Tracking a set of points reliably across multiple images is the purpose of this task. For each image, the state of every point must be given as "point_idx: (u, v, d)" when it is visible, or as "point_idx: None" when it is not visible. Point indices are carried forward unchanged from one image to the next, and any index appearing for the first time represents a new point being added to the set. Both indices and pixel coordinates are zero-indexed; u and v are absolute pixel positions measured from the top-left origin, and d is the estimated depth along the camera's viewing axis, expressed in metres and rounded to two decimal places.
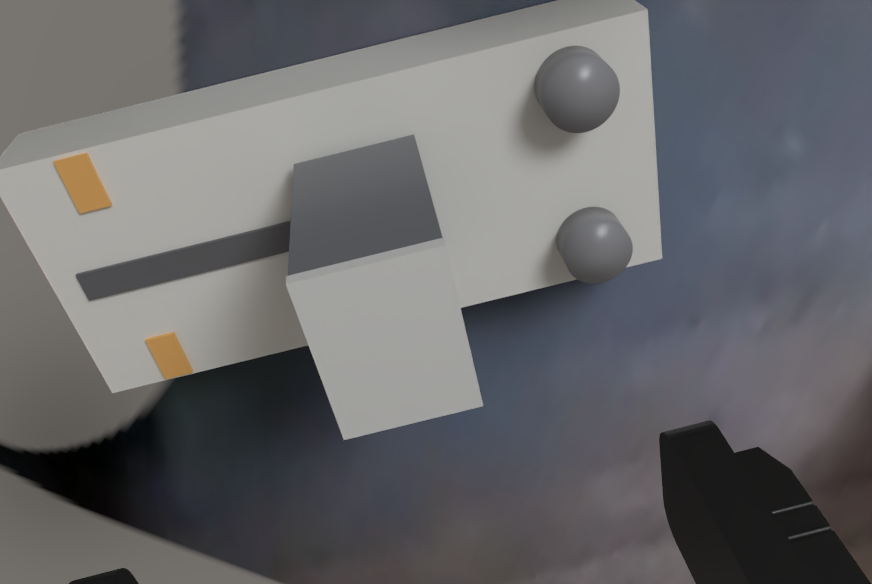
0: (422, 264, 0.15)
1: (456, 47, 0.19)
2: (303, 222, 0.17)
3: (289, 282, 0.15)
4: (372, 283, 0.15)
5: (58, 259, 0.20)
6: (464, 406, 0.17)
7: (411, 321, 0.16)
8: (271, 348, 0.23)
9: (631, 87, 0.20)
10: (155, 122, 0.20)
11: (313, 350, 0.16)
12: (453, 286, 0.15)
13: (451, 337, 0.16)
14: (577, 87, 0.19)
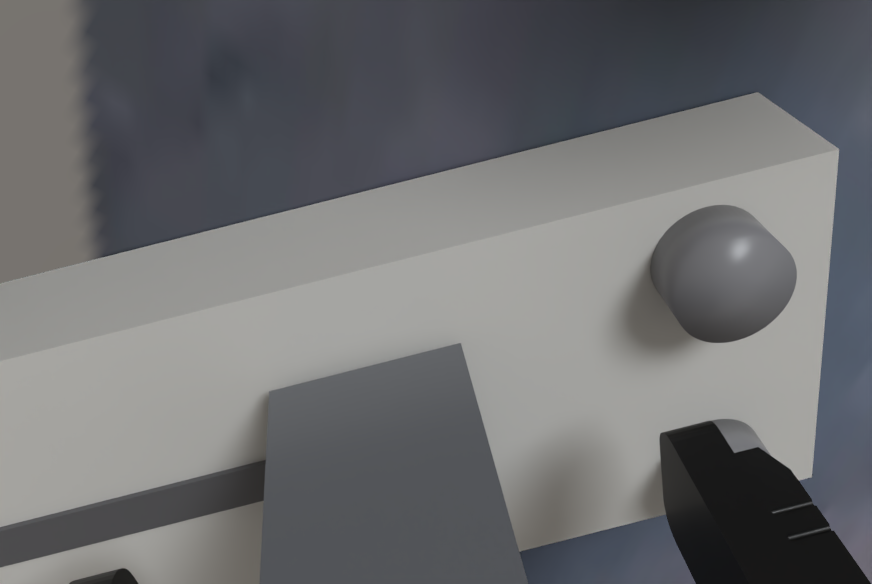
0: None
1: (527, 203, 0.12)
2: (282, 556, 0.10)
3: None
4: None
5: None
6: None
7: None
8: None
9: (798, 260, 0.13)
10: (47, 327, 0.12)
11: None
12: None
13: None
14: (731, 279, 0.11)
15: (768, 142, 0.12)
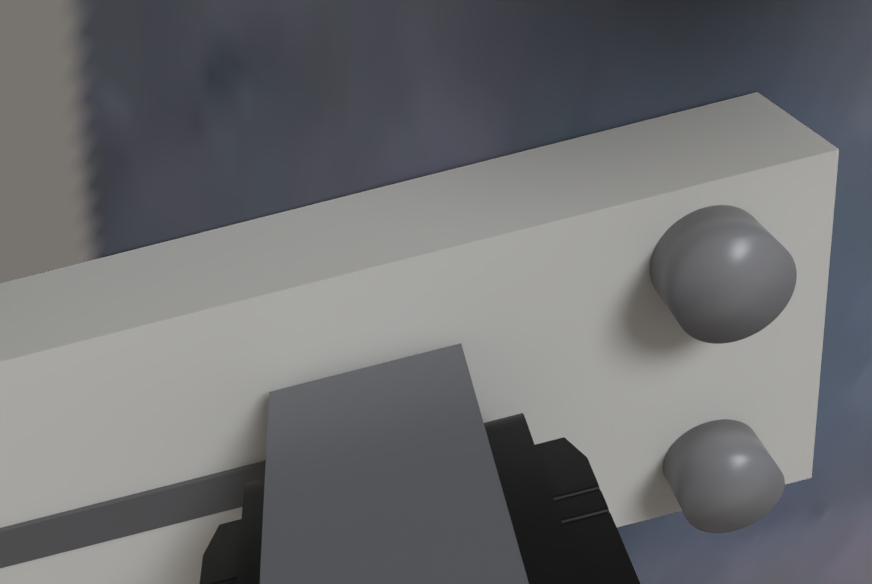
0: None
1: (526, 204, 0.12)
2: (282, 557, 0.10)
3: None
4: None
5: None
6: None
7: None
8: None
9: (798, 260, 0.13)
10: (45, 327, 0.12)
11: None
12: None
13: None
14: (730, 279, 0.11)
15: (768, 142, 0.12)
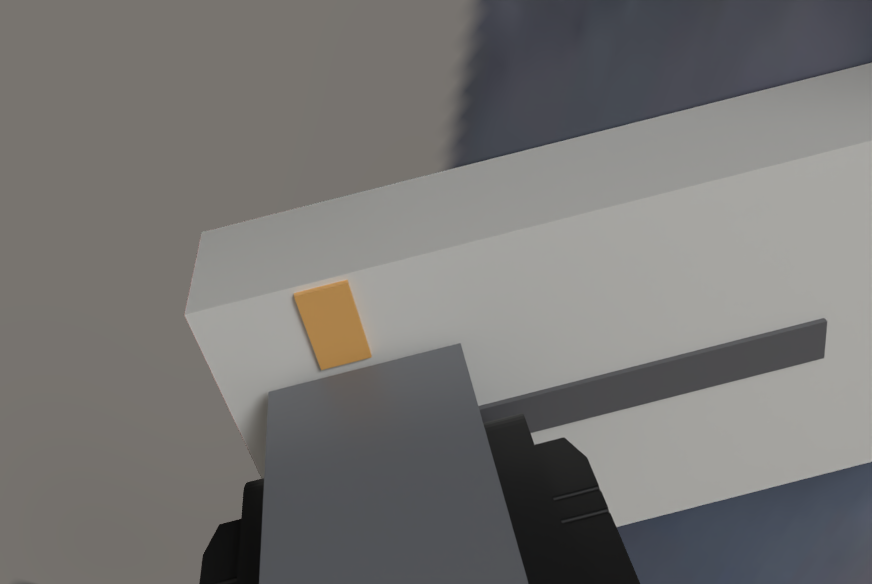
0: None
1: None
2: (281, 558, 0.10)
3: None
4: None
5: None
6: None
7: None
8: None
9: None
10: (446, 225, 0.12)
11: None
12: None
13: None
14: None
15: None
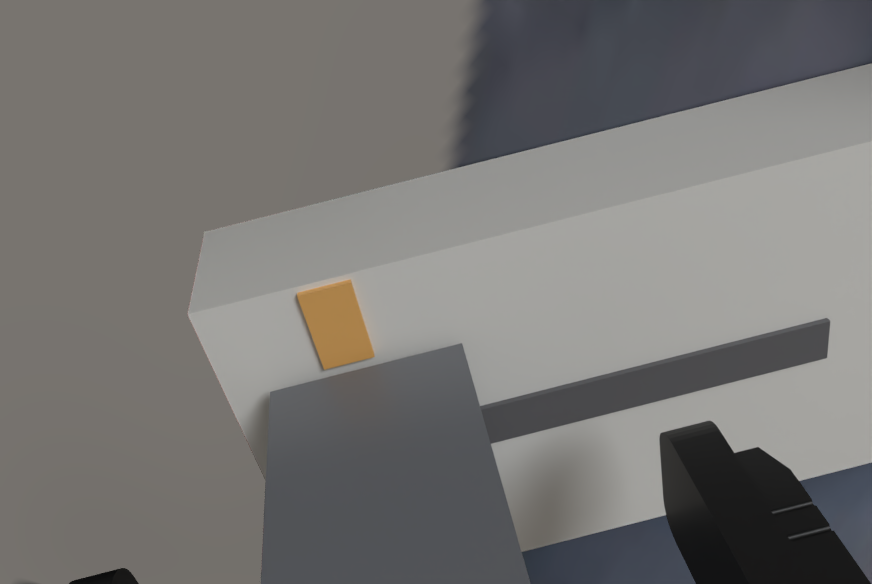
0: None
1: None
2: (283, 557, 0.10)
3: None
4: None
5: None
6: None
7: None
8: (559, 535, 0.15)
9: None
10: (449, 225, 0.12)
11: None
12: None
13: None
14: None
15: None
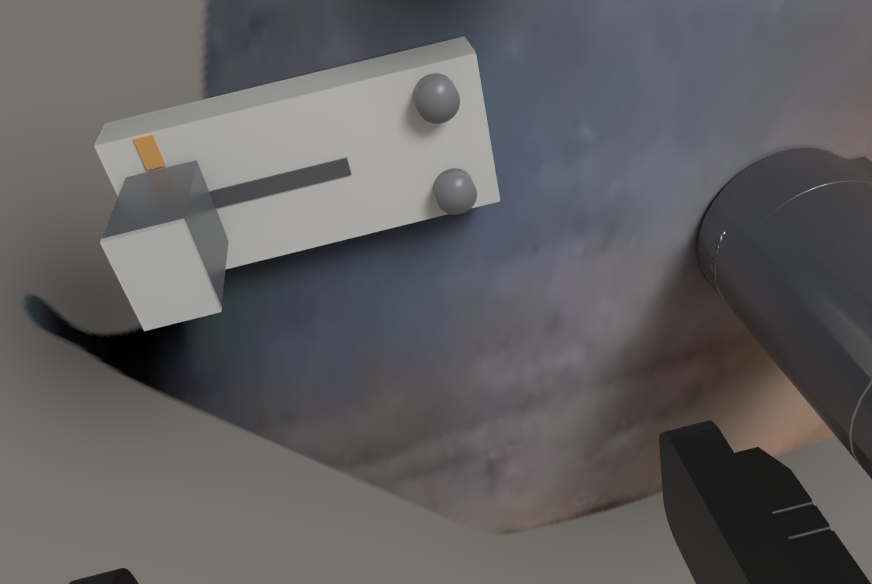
0: (172, 232, 0.29)
1: (368, 73, 0.34)
2: (119, 210, 0.31)
3: (102, 241, 0.29)
4: (146, 242, 0.29)
5: None
6: (210, 312, 0.31)
7: (171, 263, 0.30)
8: (259, 257, 0.37)
9: (470, 97, 0.34)
10: (191, 116, 0.33)
11: (119, 278, 0.30)
12: (191, 244, 0.29)
13: (195, 272, 0.30)
14: (435, 97, 0.33)
15: (456, 52, 0.34)
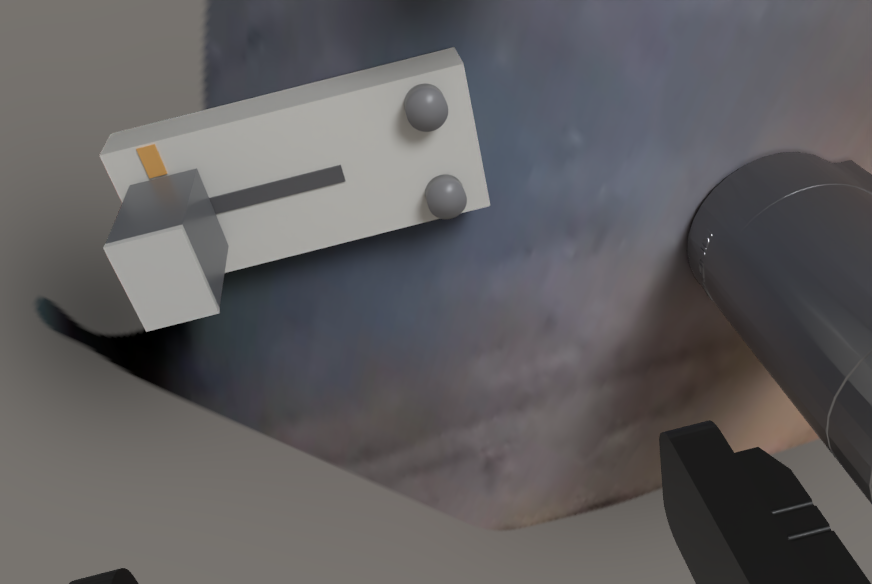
0: (171, 237, 0.30)
1: (360, 84, 0.35)
2: (122, 217, 0.32)
3: (105, 247, 0.30)
4: (147, 247, 0.31)
5: None
6: (208, 313, 0.32)
7: (171, 267, 0.31)
8: (258, 260, 0.38)
9: (459, 105, 0.35)
10: (192, 126, 0.35)
11: (121, 282, 0.31)
12: (189, 248, 0.31)
13: (194, 275, 0.31)
14: (424, 106, 0.34)
15: (444, 62, 0.35)
